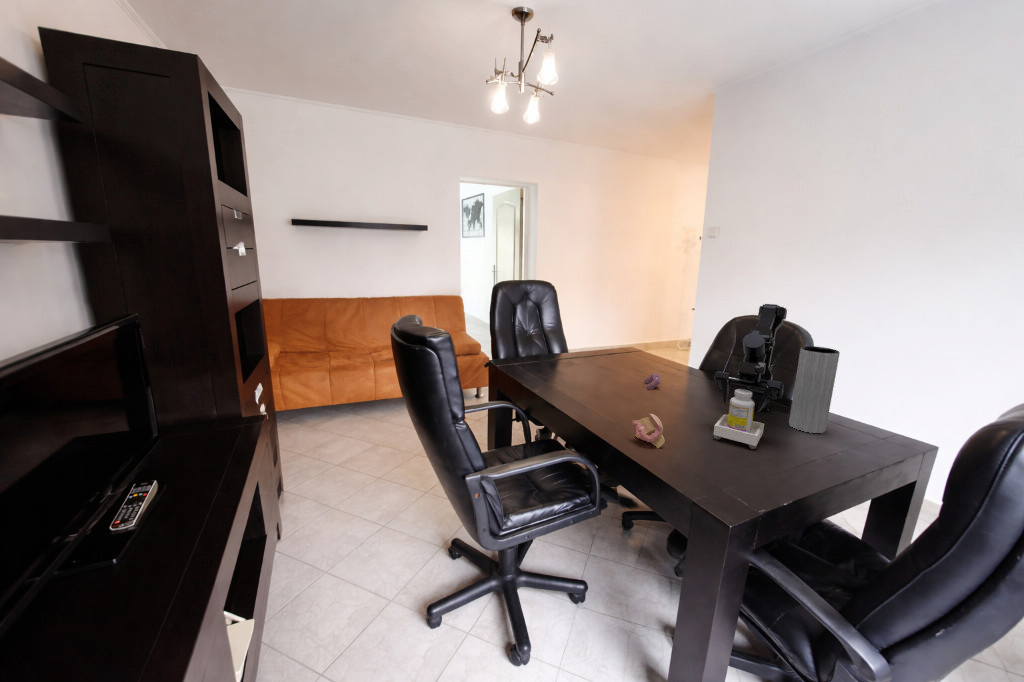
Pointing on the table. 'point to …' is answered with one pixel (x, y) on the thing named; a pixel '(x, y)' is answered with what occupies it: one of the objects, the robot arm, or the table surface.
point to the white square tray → (738, 432)
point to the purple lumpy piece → (652, 381)
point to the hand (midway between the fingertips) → (741, 407)
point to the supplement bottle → (741, 411)
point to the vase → (813, 388)
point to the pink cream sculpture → (650, 430)
